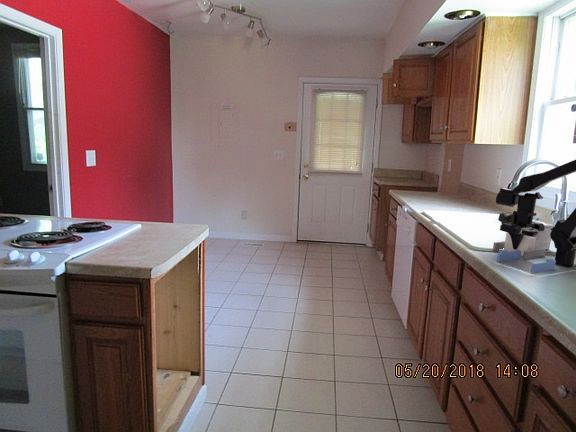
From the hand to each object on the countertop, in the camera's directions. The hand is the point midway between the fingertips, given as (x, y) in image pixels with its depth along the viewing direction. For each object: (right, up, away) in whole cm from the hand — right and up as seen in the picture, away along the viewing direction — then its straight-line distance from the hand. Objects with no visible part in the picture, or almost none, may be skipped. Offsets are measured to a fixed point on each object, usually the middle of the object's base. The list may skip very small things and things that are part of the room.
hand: (518, 248), depth 151 cm
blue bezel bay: (-7, -5, -15) cm, 17 cm away
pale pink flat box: (0, -2, 0) cm, 2 cm away
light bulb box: (+13, -1, +12) cm, 18 cm away
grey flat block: (0, -2, 0) cm, 2 cm away
